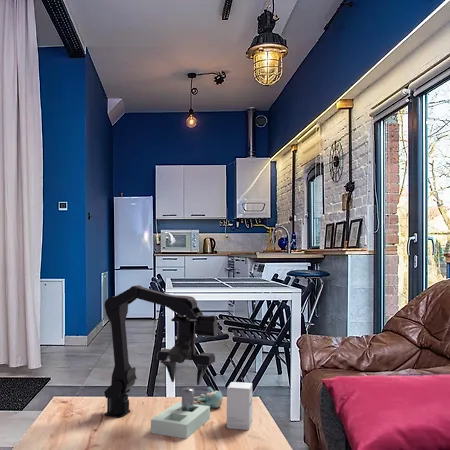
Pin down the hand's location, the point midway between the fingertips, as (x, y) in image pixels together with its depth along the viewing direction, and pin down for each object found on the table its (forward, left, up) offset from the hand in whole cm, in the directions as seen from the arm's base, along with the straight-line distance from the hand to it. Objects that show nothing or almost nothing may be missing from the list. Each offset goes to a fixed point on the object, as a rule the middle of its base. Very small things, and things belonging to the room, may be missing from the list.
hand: (185, 383), depth 158 cm
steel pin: (+1, 0, -11) cm, 11 cm away
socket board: (+1, -5, -12) cm, 13 cm away
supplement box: (+18, +2, -12) cm, 22 cm away
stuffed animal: (+1, +16, -12) cm, 20 cm away
